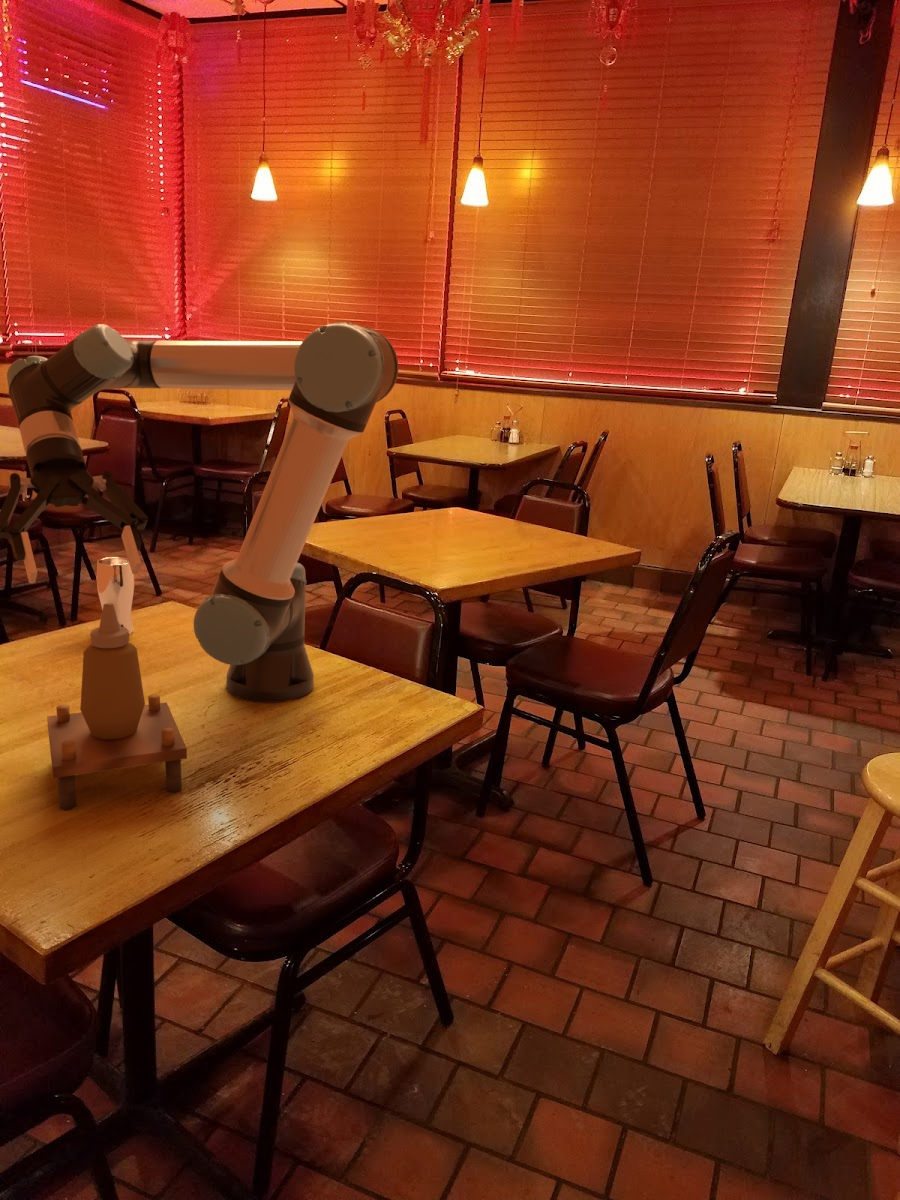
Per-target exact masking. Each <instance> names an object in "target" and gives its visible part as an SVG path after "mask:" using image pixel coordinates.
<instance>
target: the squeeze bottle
mask: <svg viewBox="0 0 900 1200" xmlns="http://www.w3.org/2000/svg"><path fill="white" fill-rule="evenodd" d="M82 660H83V661H82V672H81V673H82V675H81V693H80V695H81V696H80V712H82V714H83V717H84V719H85V721H86V723H87V725H88V728H89V730H90V732H91V734H92V736H94V737H96V738H99V739H119V738H124V737H127V736H130V735H132V734H133V733H135V732H136V730H137V727H138V724H139V721H140V718H141V715H142V712H143V709H144V706H145V705H146V702H145V701H146V700H145V695H144V688H143V681H142V676H141V668H140V661H139V655H138V648H137V647H136V646H135V645H134V644H132V643H131V642H130V634H129V631H128V630H127V629H126V628H124V627H120V626H119V623H118V619H117V616H116V612H115V609H114V605H113V604H111V603H107V604H104V605H103V611H102V612H101V617H100V621H99V627H97V628H94V629H92V630H91V631H90V645H89V646H87V647H86V648H85V649H84V650H83V658H82Z"/></svg>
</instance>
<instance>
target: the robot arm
mask: <svg viewBox="0 0 900 1200" xmlns="http://www.w3.org/2000/svg"><path fill="white" fill-rule="evenodd" d="M398 375H399V360H398V355H397V352H396V350H395V348H394V346H393V344H392V343H391V342H390V341H389V339H388V338H387V337H385V335H383V333H380V332H379V331H377V330H376V329H373V328H369V327H365V326H360V325H358V324H353V323H352V322H348V321H347V322H345V321H339V322H337V321H336V322H332V323H328V324H325V325H322V326H319V327H318V328H316V329H314V330H313V331H311V332H310V333H309V334H308V335H307V336H306V337H305V338H304V339H303V340H301V341H299V340H298V341H297V340H295V341H294V340H293V341H292V340H281V341H280V340H151V339H148V340H146V339H145V340H144V339H129V340H128V339H125V338H124V337H123V336H122V335H121V333H120V332H118V331H117V330H116V329H114V328H112V327H110V326H109V325H107V324H103V323H99V324H95V325H92V327H90V328H88V329H86V330H85V331H84V330H83V331H81V332H80V333H79V334H78V335H76V336H75V338H74V339H72V340H71V341H69V342H68V343H67V344H66V345H64V346H63V347H62V348H60V349H59V350H58V351H56V352H55V353H53V354H52V355H51V356H50V357H48V358H46V357H44V356H39V355H30V356H29V355H28V356H27V357H25V358H18V359H16V360H15V361H13V362H12V363H11V364H10V366H9V367H8V369H7V372H6V379H7V380H6V381H7V387H8V396H9V399H10V401H11V404H12V406H13V410H14V414H15V415H16V416H15V417H16V419H17V420H16V421H17V423H18V429H19V433H20V437H21V441H22V445H23V449H24V452H25V454H26V455H25V457H26V461H27V465H28V469H29V473H30V477H21V476H20V475H19V474H18V473H16V472H13V473H11V474H10V475H9V481H8V483H9V484H8V492H7V495H6V498H5V500H4V502H3V505H2V507H1V509H0V540H2V539H4V540H8V544H10V545H11V546H10V547H11V549H12V552H13V553H12V554H13V557H14V559H15V560H16V561H23V564H24V568H25V573H26V577H27V579H28V580H27V581H28V584H36V582H37V581H36V580H37V577H38V573H39V572H38V569H37V566H36V561H35V558H34V552H33V549H32V545H31V540H30V537H29V536H30V535H29V533H28V530H29V528H30V527H31V526H32V525H33V523H34V522H35V521H36V520H37V519H38V517H39V516H40V515H41V514H42V512H44V511H46V508H48V506H49V505H52V506H54V508H61V507H65V506H69V507H77V506H79V505H82V506H83V507H84V508H86V509H88V510H92V511H94V512H95V513H96V514H98V515H100V516H101V518H104V519H105V520H106V521H108V522H109V523H111V524H112V525H114V526H115V527H117V528H118V529H119V530H121V531H122V533H121V537H120V538H121V539H122V543H123V547H124V549H125V553H126V558H128V561H129V564H130V567H131V571H132V574H138V573H139V571H140V568H141V566H142V561H141V557H140V555H139V551H140V550H141V547H142V544H143V542H142V539H141V536H140V532H139V531H143V530H145V528H146V526H147V523H148V520H149V516H148V515H147V514H146V513H145V512H144V511H143V510H142V509H141V508H140V506H138V505H137V504H136V503H135V502H134V501H133V500H132V498H131V497H129V495H128V494H126V492H125V491H124V490H123V488H121V487H120V486H119V485H118V484H117V482H116V481H115V478H114V476H113V474H112V472H110V471H107V470H106V471H104V472H103V474H102V475H96V476H95V475H94V476H92V475H91V473H90V472H89V471H88V468H87V464H86V461H85V458H84V453H83V451H82V447H81V446H80V440H79V436H78V433H77V430H76V427H75V424H74V419H73V415H72V412H71V411H72V410H73V409H74V408H75V407H77V406H78V405H79V406H80V404H82V403H83V402H85V401H86V400H87V399H89V398H90V397H91V396H93V395H96V393H98V392H100V391H103V390H117V389H118V390H119V389H182V390H183V389H184V390H185V389H187V390H188V389H190V390H193V389H194V390H241V391H243V390H245V391H246V390H248V391H250V390H251V391H291V392H290V393H289V394H290V395H289V396H288V400H287V402H288V404H289V407H290V409H291V412H292V419H291V421H290V424H289V426H288V429H287V432H286V434H285V436H284V439H283V441H282V444H281V446H280V449H279V452H278V454H277V457H276V460H275V461H274V465H273V467H272V469H271V472H270V474H269V477H268V480H267V481H266V484H265V487H264V489H263V490H262V491H263V492H262V495H261V497H260V500H259V501H258V504H257V507H256V509H255V512H254V514H253V517H252V519H251V521H250V525H249V527H248V529H247V532H246V534H245V537H244V539H243V541H242V545H241V546H240V550H239V553H238V555H237V556H236V557H237V558H234V559H231V560H229V561H226V562H225V563H224V564H223V565H222V567H221V570H220V572H219V575H218V577H217V580H216V582H215V585H214V587H213V590H212V593H211V594H210V596H208V597H206V598H205V599H204V600H203V601H202V602H200V603H201V604H199V606H198V608H196V611H195V614H194V617H193V630H194V631H193V632H194V635H195V638H196V640H197V641H198V643H199V646H200V647H201V649H203V651H205V653H206V654H207V655H208V656H209V657H211V658H212V659H214V660H215V661H218V662H220V663H223V664H226V665H229V667H228V670H227V673H226V690H227V691H228V693H229V694H231V695H232V696H233V697H235V698H239V699H241V700H245V701H249V702H256V703H279V702H287V701H292V700H296V699H300V698H302V697H304V696H306V695H308V694H309V693H311V691H312V690H313V689H314V672H313V668H312V665H311V662H310V659H309V657H308V653H307V650H306V646H305V625H306V624H305V623H306V622H305V619H306V618H305V617H306V587H307V579H306V569H305V567H304V565H302V564H301V563H299V562H298V561H299V559H300V556H301V555H302V554H301V553H302V551H303V549H304V547H305V544H306V541H307V540H308V537H309V534H310V533H311V531H312V527H313V525H314V523H315V520H316V518H317V515H318V513H319V511H320V508H321V507H322V504H323V501H324V500H325V496H326V495H327V492H328V490H329V487H330V484H331V483H332V481H333V480H332V479H333V478H334V475H335V473H336V470H337V469H338V466H339V464H340V461H341V459H342V457H343V454H344V452H345V450H346V447H347V445H348V442H349V441H350V440H351V439H352V438H353V439H354V438H355V437H358V436H360V435H361V436H362V435H363V434H364V432H365V429H366V428H367V426H368V425H367V424H368V423H369V421H370V418H371V416H372V413H373V410H374V408H375V406H376V404H377V403H378V402H380V401H382V400H383V399H384V398H386V397H387V396H388V395H389V394H390V392H391V391H392V390H393V388H394V386H395V385H396V382H397V379H398ZM93 486H94V487H97V488H98V489H99V491H98V490H97V489H96V488H94V487H93ZM29 488H30V490H31V491H33V493H35V494H36V496H35V498H34V499H33V500H32V501H31V502H30V503H29V505H28V506H27V507H26V508H25V509H24V510H23V512H22V513H21V514H20V515H19V517H18V518H17V519H16V521H14V523H13V524H12V525H9V524H10V521H11V520H12V519H11V518H12V516H13V514H14V511H15V509H16V507H17V505H18V502H19V497H20V495H23V493H25V492H26V491H27V489H29ZM99 492H103V493H104V495H105V496H106V497H107V499H106V498H105V497H103V496H102V495H101V494H99ZM108 499H109V500H108ZM110 501H111V502H110Z"/></svg>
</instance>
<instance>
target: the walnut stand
mask: <svg viewBox="0 0 900 1200" xmlns="http://www.w3.org/2000/svg"><path fill="white" fill-rule="evenodd" d="M46 720H47V722H46V723H47V733H48V741H49V751H50V760H51V769H52V778H53V779H56V778H57V788H58V789H57V790H58V791H57V792H58V804H59V805H58V806H59V809H60V810H61V811H71V810H74V809H75V808H76V807H77V806H78V805H77V801H78V800H77V790H76V789H77V788H76V787H77V786H76V776H77V775H86V774H92V773H99V772H104V771H112V770H119V769H123V768H124V769H126V768H131V767H132V768H133V767H139V766H145V765H152V764H159V763H165V765H164V766H165V791H166V792H167V793H170V794H173V793H174V794H177V793H179V792H181V790H182V789H183V787H182V786H183V785H182V784H183V783H182V782H183V781H182V780H183V779H182V760H186V759H188V757H187V756H188V754H187V746H186V744H185V741H184V739H183V736H182V735H181V732H180V729H179V728H178V725H177V723H176V721H175V717H174V716H173V714H172V711H171V708H170V707H169V705H168V702H167V701H166V702H161V695H160V694H155V693H153V694H149V695H148V704H145V706H144V709H143V712H142V715H141V718H140V721H139V724H138V727H137V730H136V732H135V733H133V734H132V735H130V736H127V737H124V738H119V739H99V738H96V737H94V736H92V734H91V732H90V730H89V728H88V725H87V723H86V721H85V719H84V717H83V714H82V712H81V711H80V712H73V713H71V712H70V705H68V704H60V705H57V706H56V715H48V716H46Z"/></svg>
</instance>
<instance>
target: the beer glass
mask: <svg viewBox="0 0 900 1200" xmlns="http://www.w3.org/2000/svg"><path fill="white" fill-rule="evenodd" d="M96 587H97V594H98V598H99V601H100V605H101V609H102V611H103V605H104V604H107V603H111V604H113V605H114V609H115V612H116V616H117V619H118V623H119V626H120V627H124V628H126V629H127V630H128V631H129V633H131V632H132V631H133V630H134V625H133V621H132V608H133V607H132V606H133V599H134V598H133V597H134V591H135V575H134V574H132V571H131V567H130V564H129V561H128V557H121V556H114V557H113V556H110V557H103V558H99V559H98V560H97V561H96ZM133 632H134V631H133ZM131 634H132V633H131Z"/></svg>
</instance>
